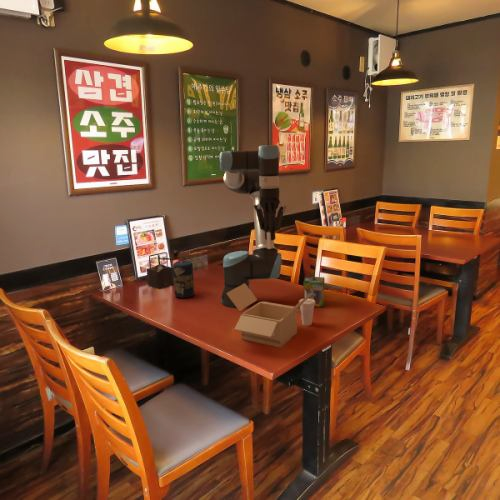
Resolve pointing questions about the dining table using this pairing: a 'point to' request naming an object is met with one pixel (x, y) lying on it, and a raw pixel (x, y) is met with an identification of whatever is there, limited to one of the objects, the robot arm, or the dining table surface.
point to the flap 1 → (241, 296)
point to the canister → (183, 278)
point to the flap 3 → (282, 305)
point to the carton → (274, 313)
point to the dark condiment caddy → (161, 273)
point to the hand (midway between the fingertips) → (270, 247)
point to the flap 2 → (256, 326)
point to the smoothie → (307, 311)
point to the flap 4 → (298, 305)
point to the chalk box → (315, 289)
